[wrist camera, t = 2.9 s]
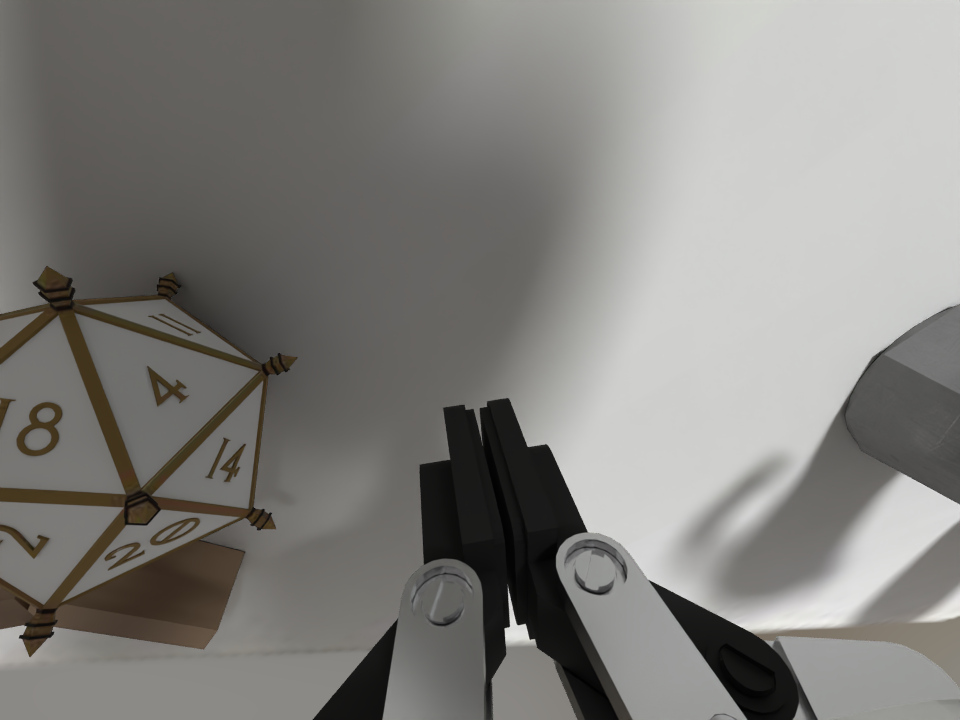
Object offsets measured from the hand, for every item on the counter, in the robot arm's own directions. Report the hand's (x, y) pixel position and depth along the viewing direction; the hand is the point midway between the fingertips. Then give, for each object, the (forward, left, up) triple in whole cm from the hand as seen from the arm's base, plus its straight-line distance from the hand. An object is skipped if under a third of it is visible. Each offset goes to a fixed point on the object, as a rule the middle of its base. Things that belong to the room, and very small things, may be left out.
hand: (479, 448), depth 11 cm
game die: (-1, -9, -6) cm, 11 cm away
